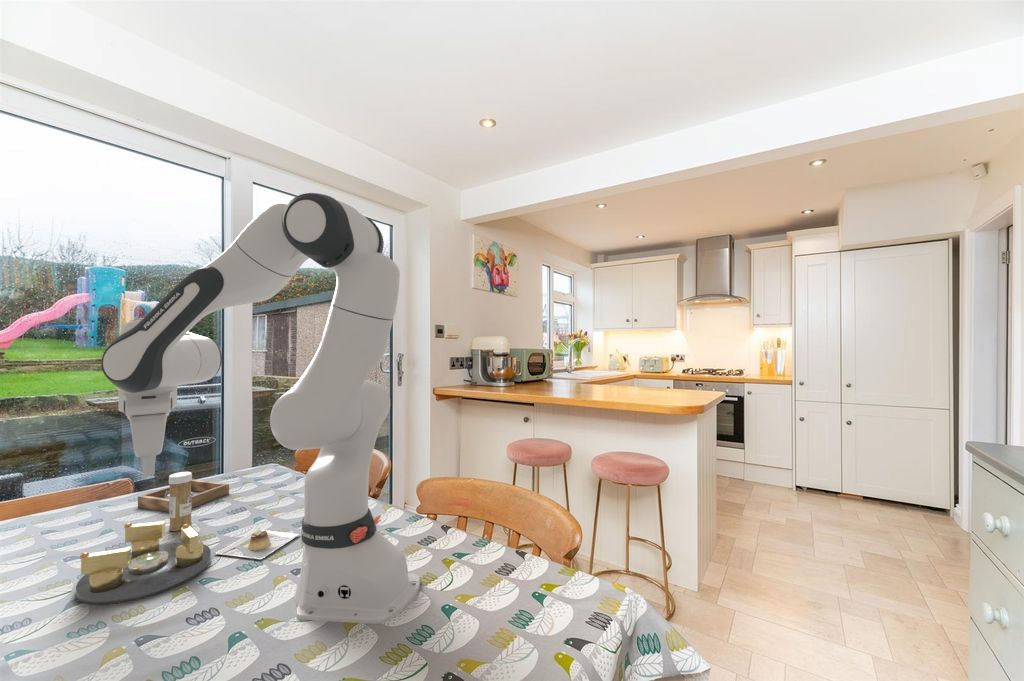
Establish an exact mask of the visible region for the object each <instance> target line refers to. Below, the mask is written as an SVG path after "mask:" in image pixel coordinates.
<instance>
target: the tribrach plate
mask: <svg viewBox="0 0 1024 681" xmlns="http://www.w3.org/2000/svg"><path fill="white" fill-rule="evenodd" d="M180 545H182V543H181V541H180V542H170V543H163V544H159V551H155V552H150V553H146V554H143V555H140V556H138V557H136V558H132V551H131V564H130V565H129V566H128V567H125V568H123V582H122V583H121V584H120V585H119V586H117V587H115V588H113V589H110V590H107V591H104V592H98V593H92V592H90V591H89V574H84V575H82V577H81V578H80V579H79V580H78V581H77V583H76V586H75V596H76V597H75V598H76V599H77V600H78V601H79V602H80V603H83V604H85V605H91V606H92V605H93V606H110V605H118V604H124V603H130V602H134V601H139V600H144V599H146V598H147V599H148V598H150V597H154V596H157V595H160V594H163V593H166V592H169V591H171V590H173V589H176V588H178V587H181V586H182V585H186V583H188V582H190V581H192V580H193V579H196V578H197V577H199V576H200V575H201V574H202V573H204V572H205V570H207V569H208V567H209V566H210V565H211V564H210V563H211V560H212V559H211V548H210V546H208V545H206V544H204V543H203V559H202V560H201V561H200V562H198V563H196V564H193V565H190V566H186V567H178V566H176V548H177V547H178V546H180Z"/></svg>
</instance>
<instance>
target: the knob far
mask: <svg viewBox="0 0 1024 681" xmlns="http://www.w3.org/2000/svg"><path fill="white" fill-rule="evenodd" d="M124 529H125V530H124V543H130V542H131V552H132V558H136V557H138V556H140V555H143V554H146V553H150V552H155V551H159V545H160V539H163V538H164V537H165V536H166V520H163V521H155V522H143V523H135V524H134V523H131V522H127V523H126V524H125V525H124Z"/></svg>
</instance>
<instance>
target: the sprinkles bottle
mask: <svg viewBox="0 0 1024 681" xmlns="http://www.w3.org/2000/svg"><path fill="white" fill-rule="evenodd" d="M191 480H193V474H192V472H191V471H181V472H180V471H179V472H175V473H172V474H170V475H169V476H168V484H169V486H170V496H169V512H168V517H169V528H168V531H171V532H179V531H180V532H181V528H182V526H183V525H185V524H188V525H189V526H190V527H191V526H192V525H193V523H192V508H191V492H192V491H191Z"/></svg>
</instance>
